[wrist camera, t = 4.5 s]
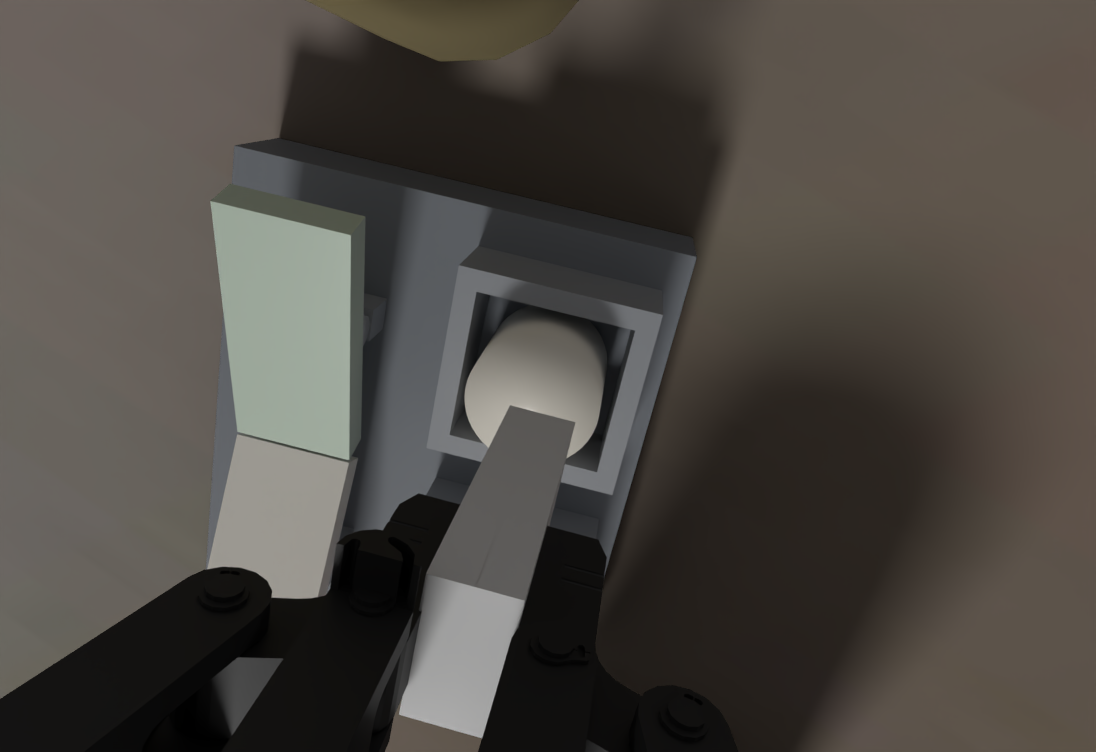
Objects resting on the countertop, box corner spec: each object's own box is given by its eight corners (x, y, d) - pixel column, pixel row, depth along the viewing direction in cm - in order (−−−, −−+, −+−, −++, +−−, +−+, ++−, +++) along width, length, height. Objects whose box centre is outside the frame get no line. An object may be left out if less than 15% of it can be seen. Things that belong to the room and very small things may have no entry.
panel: (692, 237, 26) (701, 278, 21) (580, 628, 32) (566, 736, 27) (278, 138, 27) (186, 153, 21) (243, 540, 33) (165, 629, 27)
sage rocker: (376, 202, 21) (350, 235, 20) (369, 421, 26) (348, 460, 25) (245, 170, 21) (210, 201, 20) (264, 395, 26) (237, 431, 25)
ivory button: (620, 319, 24) (614, 357, 20) (591, 428, 25) (582, 479, 22) (501, 290, 24) (477, 323, 21) (479, 399, 25) (454, 446, 22)
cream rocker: (365, 454, 27) (348, 462, 25) (311, 683, 27) (291, 707, 25) (261, 427, 27) (237, 434, 25) (209, 656, 27) (182, 678, 25)
